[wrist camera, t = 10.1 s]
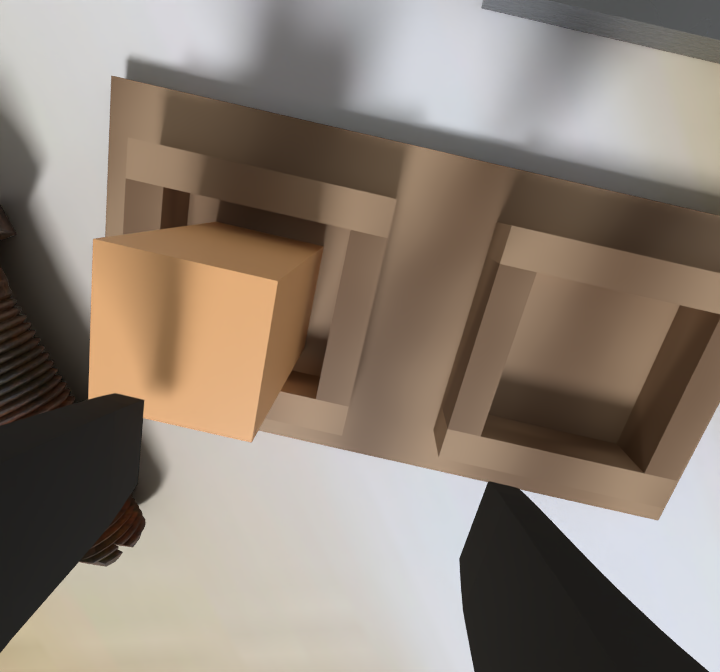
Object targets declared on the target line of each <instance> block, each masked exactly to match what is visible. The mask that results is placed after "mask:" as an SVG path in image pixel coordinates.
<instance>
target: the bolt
mask: <svg viewBox="0 0 720 672" xmlns="http://www.w3.org/2000/svg"><path fill="white" fill-rule="evenodd" d="M13 235H16V232H15V230H14V228H13V227H12V225H11V223H10V221H9V219H8V218H7V216H6V214H5V212H4V211H3V209H2V207H1V205H0V241H1V240H3V239H6V238H8V237H11V236H13ZM8 283H9V281H8V279H7V277H6V275H5V274H4V272H3V270H2V268H1V267H0V426H1V425H4V424H7V423H11V422H14V421H18V420H21V419H24V418H28V417H31V416H34V415H38V414H41V413H44V412H48V411H51V410H54V409H58V408H61V407H64V406H68V405H71V404H74V402H73V401H74V400H75V397H74V396H68V395H69V394H70V389H64V387H65V386H66V382H59V381H60V380H61V378H62V376H61V375H55V374H56V372H57V371H58V369H57V368H51V366H52V365H53V363H54V362H53V361H52V360H47V358H48V356H49V353H42V352H43V350H44V349H45V347H44V346H41V345H38V343H39V342H40V338H33V336H34V334H35V333H36V331H35V330H28V329H29V328H30V326H31V323H27V322H24V320H25V319H26V317H27V316H26V315H19V313H20V312H21V310H22V308H21V307H14V305H15V304H16V302H17V299H13V298H10V297H11V295H12V291H11V289H10V288H9V286H8ZM144 527H145V518H144V517H143V516H142V511H141V510H140V509H139V506H138V504H137V503H135V499H134V498H132V494H130V496H129V497H128V499H127V501H126V502H125V504H124V505H123V507H122V508H121V510H120V511H119V512H118V514H117V515H116V517H115V518H114V520H113V521H112V522H111V524H110V525H109V527H108V528H107V529H106V530H105V532H104V533H103V534H102V535H101V536H100V538H99V539H98V540H97V541H96V542H95V543H94V545H93V546H92V547H91V548H90V549H89V550H88V552H87V553H86V554H85V555H84V556H83V557H82V559H81V560H80V561H79V562H81V563H87V564H93V565H100V566H108V565H110V564H112V563H114V562H115V561H116V560H117V559H118V558H119V557H120V556H121V554H122V553H123V552H122V551H120V550H118V546H116V545H119V546H127V547H133V546H134V545H135V544H136V542H137V541H138V540H139V539H140V536H141V532H142V531H143V529H144Z"/></svg>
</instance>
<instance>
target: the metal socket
mask: <svg viewBox="0 0 720 672" xmlns="http://www.w3.org/2000/svg"><path fill="white" fill-rule="evenodd" d="M482 8H483V9H488V10H492V11H496V12H500V13H505V14H509V15H513V16H518V17H522V18H526V19H530V20H535V21H539V22H543V23H548V24H552V25H556V26H560V27H565V28H569V29H573V30H578V31H582V32H586V33H590V34H595V35H599V36H603V37H608V38H612V39H616V40H621V41H625V42H629V43H633V44H638V45H642V46H646V47H651V48H655V49H659V50H663V51H668V52H672V53H676V54H681V55H685V56H689V57H693V58H698V59H702V60H706V61H711V62H715V63H719V64H720V0H483V4H482Z"/></svg>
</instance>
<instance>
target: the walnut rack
mask: <svg viewBox="0 0 720 672" xmlns="http://www.w3.org/2000/svg"><path fill="white" fill-rule="evenodd" d="M210 222H220V223H224V224H228V225H233V226H237V227H241V228H246V229H250V230H254V231H259V232H263V233H267V234H272V235H276V236H280V237H285V238H289V239H294V240H298V241H302V242H307V243H311V244H315V245H320V246H324V248H323V253H322V258H321V263H320V269H319V274H318V279H317V284H316V290H315V295H314V300H313V305H312V310H311V316H310V321H309V326H308V331H307V337H306V342H305V347H304V349H303V351H302V353H301V355H300V357H299V358H298V360H297V362H296V364H295V366H294V367H293V369H292V371H291V373H290V375H289V376H288V378H287V380H286V382H285V384H284V385H283V387H282V389H281V391H280V392H279V394H278V396H277V398H276V400H275V401H274V403H273V405H272V407H271V409H270V410H269V412H268V414H267V416H266V418H265V419H264V421H263V423H262V425H261V427H260V428H259V431H263V432H268V433H272V434H277V435H281V436H285V437H290V438H294V439H299V440H303V441H308V442H312V443H317V444H321V445H325V446H330V447H334V448H339V449H343V450H348V451H352V452H357V453H361V454H365V455H370V456H374V457H379V458H383V459H388V460H392V461H397V462H401V463H405V464H410V465H414V466H419V467H423V468H428V469H432V470H437V471H441V472H445V473H450V474H454V475H459V476H463V477H468V478H472V479H477V480H481V481H485V482H488V481H491V482H495V483H499V484H504V485H508V486H512V487H516V488H519V489H521V490H525V491H530V492H534V493H539V494H543V495H548V496H552V497H557V498H561V499H565V500H570V501H574V502H579V503H583V504H588V505H592V506H597V507H601V508H605V509H610V510H614V511H619V512H623V513H628V514H632V515H637V516H641V517H645V518H650V519H654V520H659V518H660V516H661V514H662V512H663V510H664V508H665V506H666V504H667V502H668V501H669V499H670V497H671V495H672V493H673V491H674V489H675V487H676V485H677V483H678V481H679V479H680V478H681V476H682V474H683V472H684V470H685V468H686V466H687V464H688V462H689V460H690V458H691V456H692V455H693V453H694V451H695V449H696V447H697V445H698V443H699V441H700V439H701V437H702V435H703V433H704V431H705V430H706V428H707V426H708V424H709V422H710V420H711V418H712V416H713V414H714V412H715V410H716V408H717V407H718V405H719V403H720V216H718V215H714V214H710V213H705V212H701V211H697V210H692V209H688V208H684V207H679V206H675V205H671V204H666V203H662V202H658V201H653V200H649V199H645V198H640V197H636V196H632V195H627V194H623V193H619V192H614V191H610V190H606V189H601V188H597V187H593V186H588V185H584V184H580V183H575V182H571V181H566V180H562V179H558V178H553V177H549V176H545V175H540V174H536V173H532V172H527V171H523V170H519V169H514V168H510V167H506V166H501V165H497V164H493V163H488V162H484V161H480V160H475V159H471V158H467V157H462V156H458V155H454V154H449V153H445V152H441V151H436V150H432V149H428V148H423V147H419V146H415V145H410V144H406V143H402V142H397V141H393V140H389V139H384V138H380V137H376V136H371V135H367V134H363V133H358V132H354V131H350V130H345V129H341V128H337V127H332V126H328V125H323V124H319V123H315V122H310V121H306V120H302V119H297V118H293V117H289V116H284V115H280V114H276V113H271V112H267V111H263V110H258V109H254V108H250V107H245V106H241V105H237V104H232V103H228V102H224V101H219V100H215V99H211V98H206V97H202V96H198V95H193V94H189V93H185V92H180V91H176V90H172V89H167V88H163V87H159V86H154V85H150V84H146V83H141V82H137V81H133V80H128V79H124V78H120V77H115V76H111V101H110V128H109V154H108V180H107V206H106V232H105V237H110V236H117V235H124V234H131V233H139V232H146V231H153V230H160V229H167V228H174V227H182V226H189V225H196V224H203V223H210Z"/></svg>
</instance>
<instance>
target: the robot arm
mask: <svg viewBox="0 0 720 672" xmlns="http://www.w3.org/2000/svg"><path fill="white" fill-rule="evenodd" d="M143 412H144V400H143V399H139V398H134V397H130V396H126V395H122V394H117V393H113V394H108V395H104V396H100V397H96V398H92V399H88V400H85V401H81V402H78V403H74V404H71V405H68V406H64V407H61V408H58V409H54V410H51V411H48V412H44V413H41V414H38V415H34V416H31V417H28V418H24V419H21V420H18V421H14V422H11V423H7V424H4V425H1V426H0V653H1V651H2V650H3V649H4V648H5V646H6V645H7V644H8V643H9V641H10V640H11V639H12V638H13V637H14V635H15V634H16V633H17V632H18V631H19V630H20V629H21V627H22V626H23V625H24V624H25V623H26V622H27V621H28V619H29V618H30V617H31V616H32V615H33V614H34V613H35V611H36V610H37V609H38V608H39V607H40V606H41V604H42V603H43V602H44V601H45V600H46V599H47V598H48V596H49V595H50V594H51V593H52V592H53V591H54V590H55V588H56V587H57V586H58V585H59V584H60V583H61V582H62V580H63V579H64V578H65V577H66V576H67V575H68V574H69V572H70V571H71V570H72V569H73V568H74V567H75V566H76V564H77V563H78V562H79V561H80V560H81V559H82V557H83V556H84V555H85V554H86V553H87V552H88V550H89V549H90V548H91V547H92V546H93V545H94V543H95V542H96V541H97V540H98V539H99V538H100V536H101V535H102V534H103V533H104V532H105V530H106V529H107V528H108V527H109V525H110V524H111V522H112V521H113V520H114V518H115V517H116V515H117V514H118V512H119V511H120V510H121V508H122V507H123V505H124V504H125V502H126V501H127V499H128V497H129V496H130V494H131V493H132V491H133V490H134V488H135V487H136V485H137V484H138V473H139V461H140V449H141V436H142V424H143ZM459 561H460V578H461V593H462V604H463V613H464V619H465V624H466V630H467V635H468V640H469V645H470V651H471V656H472V661H473V666H474V671H475V672H709V671H708V670H706V669H705V668H704V667H703V666H702V665H701V664H699V663H698V662H697V661H696V660H695V659H694V658H692V657H691V656H690V655H689V654H688V653H686V652H685V651H684V650H683V649H682V648H681V647H680V646H678V645H677V644H676V643H675V642H674V641H673V640H672V639H671V638H669V637H668V636H667V635H666V634H665V633H664V632H663V631H662V630H661V629H659V628H658V627H657V626H656V625H655V624H654V623H653V622H652V621H651V620H650V619H649V618H648V617H647V616H646V615H645V614H644V613H642V612H641V611H640V610H639V609H638V608H637V607H636V606H635V605H634V604H633V603H632V602H631V601H630V600H629V599H628V598H627V597H626V596H625V595H623V594H622V593H621V592H620V591H619V590H618V589H617V588H616V587H615V586H614V585H613V584H612V583H611V582H610V581H609V580H608V579H607V578H606V577H605V576H604V575H603V574H602V573H601V572H600V571H599V570H598V569H597V568H596V567H595V566H594V565H593V564H592V563H591V562H590V561H589V560H588V559H587V558H586V557H585V555H584V554H583V553H582V552H581V551H580V550H579V549H578V548H577V547H576V546H575V545H574V544H573V543H572V542H571V541H570V540H569V539H568V538H567V537H566V536H565V535H564V534H563V533H562V532H561V531H560V529H559V528H558V527H557V526H556V525H555V524H554V523H553V522H552V521H551V520H550V519H549V518H548V517H547V516H546V515H545V514H544V513H543V512H542V511H541V510H540V509H539V508H538V507H537V506H536V505H535V504H534V503H533V502H532V501H531V500H530V499H529V498H528V497H527V496H526V495H525V494H524V493H523V492H522V491H521V490H520V489H519V488H516V487H512V486H508V485H504V484H499V483H495V482H491V481H488V484H487V486H486V489H485V492H484V494H483V497H482V500H481V502H480V505H479V508H478V510H477V513H476V516H475V518H474V521H473V524H472V526H471V529H470V532H469V534H468V537H467V540H466V542H465V545H464V548H463V550H462V553H461V556H460V559H459Z"/></svg>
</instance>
